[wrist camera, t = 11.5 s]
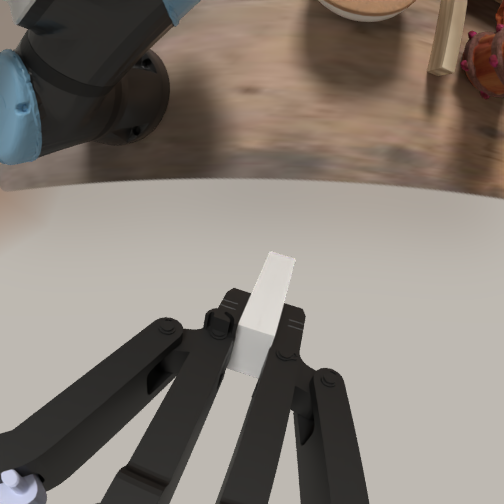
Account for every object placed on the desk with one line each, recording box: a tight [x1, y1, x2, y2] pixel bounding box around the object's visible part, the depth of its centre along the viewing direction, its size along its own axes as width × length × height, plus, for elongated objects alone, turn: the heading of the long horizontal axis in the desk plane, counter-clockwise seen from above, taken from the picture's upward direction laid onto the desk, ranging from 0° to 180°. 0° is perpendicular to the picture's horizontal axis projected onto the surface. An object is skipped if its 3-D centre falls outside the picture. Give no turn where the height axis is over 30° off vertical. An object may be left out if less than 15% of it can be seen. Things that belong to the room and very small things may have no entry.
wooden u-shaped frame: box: [427, 0, 503, 76], centre depth 23 cm, size 15×16×6 cm
